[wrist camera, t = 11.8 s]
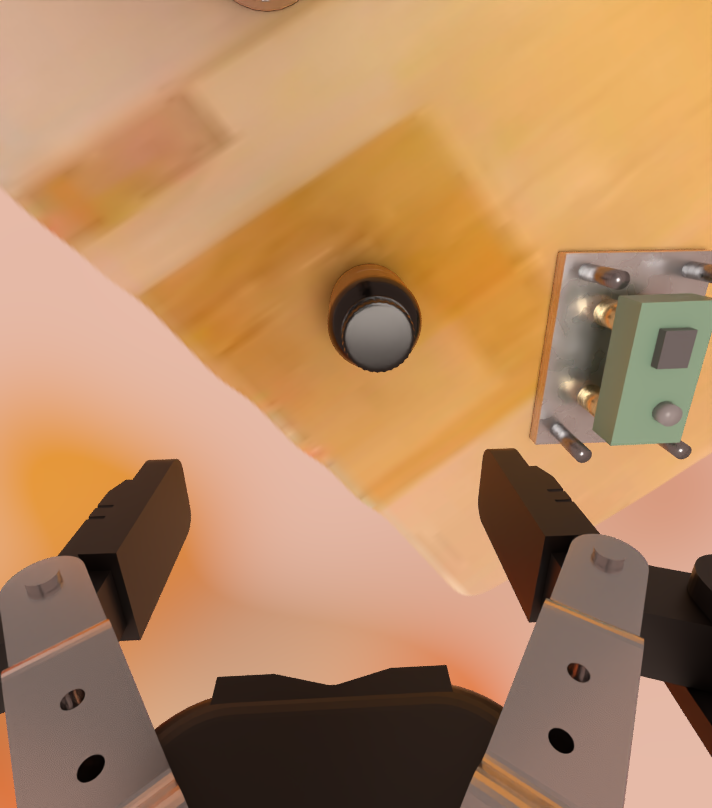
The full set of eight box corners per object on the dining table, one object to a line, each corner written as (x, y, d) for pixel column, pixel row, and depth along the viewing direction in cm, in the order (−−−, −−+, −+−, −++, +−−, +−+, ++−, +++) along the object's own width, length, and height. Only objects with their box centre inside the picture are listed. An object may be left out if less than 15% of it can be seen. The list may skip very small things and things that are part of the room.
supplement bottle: (382, 246, 39) (402, 262, 28) (419, 315, 41) (451, 355, 30) (313, 289, 40) (306, 320, 29) (353, 353, 42) (361, 405, 31)
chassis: (558, 252, 39) (598, 259, 33) (704, 249, 40) (769, 256, 34) (529, 437, 46) (558, 471, 40) (653, 433, 47) (700, 466, 41)
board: (618, 295, 37) (650, 305, 33) (691, 293, 37) (731, 302, 33) (592, 429, 41) (617, 451, 38) (656, 426, 41) (688, 448, 38)
